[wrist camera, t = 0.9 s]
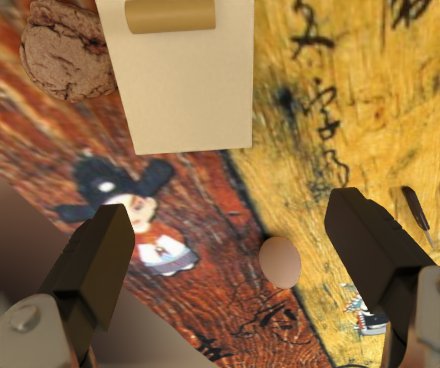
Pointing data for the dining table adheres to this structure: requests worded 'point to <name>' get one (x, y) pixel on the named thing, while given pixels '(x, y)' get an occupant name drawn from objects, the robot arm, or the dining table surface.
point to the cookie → (66, 52)
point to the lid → (183, 71)
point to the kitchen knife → (417, 212)
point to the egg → (280, 262)
